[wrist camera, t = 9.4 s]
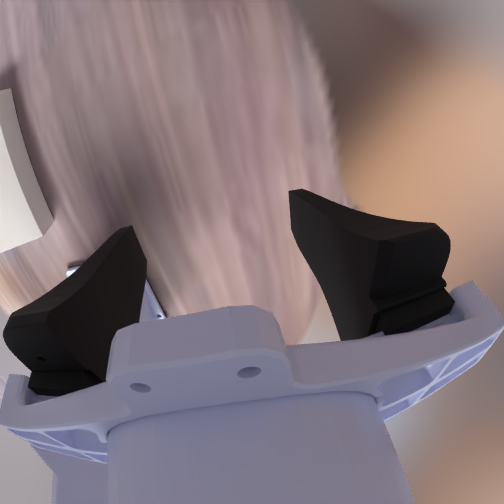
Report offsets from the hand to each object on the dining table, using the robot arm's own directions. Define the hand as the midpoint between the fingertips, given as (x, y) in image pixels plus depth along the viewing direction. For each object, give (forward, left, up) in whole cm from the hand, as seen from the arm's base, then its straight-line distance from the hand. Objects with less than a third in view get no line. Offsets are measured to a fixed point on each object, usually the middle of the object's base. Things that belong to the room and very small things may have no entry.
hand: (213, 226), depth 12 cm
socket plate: (+6, +21, -9) cm, 24 cm away
